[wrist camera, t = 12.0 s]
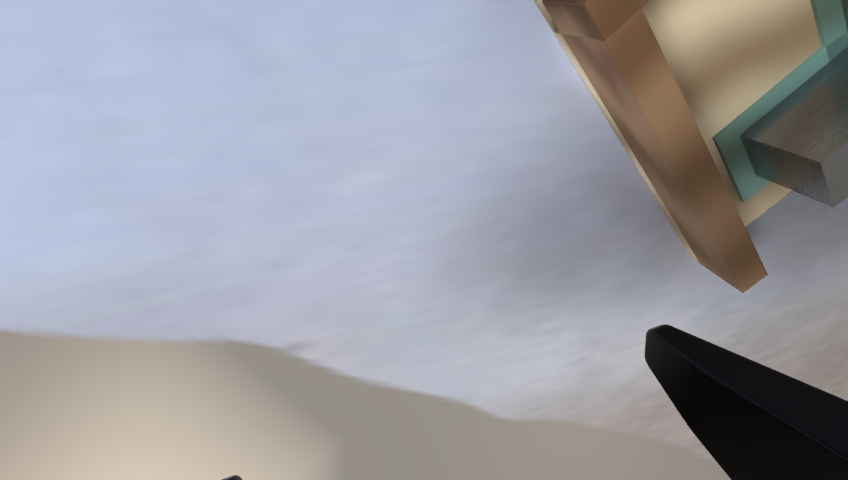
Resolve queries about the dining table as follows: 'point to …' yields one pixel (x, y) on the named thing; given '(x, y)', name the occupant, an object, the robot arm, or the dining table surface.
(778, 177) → the angle bracket
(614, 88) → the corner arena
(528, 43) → the dining table surface
